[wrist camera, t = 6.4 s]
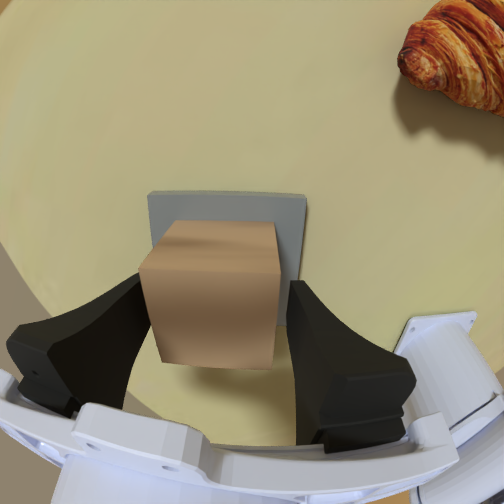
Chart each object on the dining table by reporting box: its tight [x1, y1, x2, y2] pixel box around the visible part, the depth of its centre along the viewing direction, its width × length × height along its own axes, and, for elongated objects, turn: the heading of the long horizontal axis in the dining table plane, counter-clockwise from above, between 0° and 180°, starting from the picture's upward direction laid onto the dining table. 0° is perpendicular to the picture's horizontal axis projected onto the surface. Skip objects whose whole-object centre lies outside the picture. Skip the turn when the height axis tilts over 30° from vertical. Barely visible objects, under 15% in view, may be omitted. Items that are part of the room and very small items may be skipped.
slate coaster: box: [147, 191, 307, 326], centre depth 15 cm, size 8×8×1 cm
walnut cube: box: [138, 220, 281, 370], centre depth 12 cm, size 5×5×5 cm
